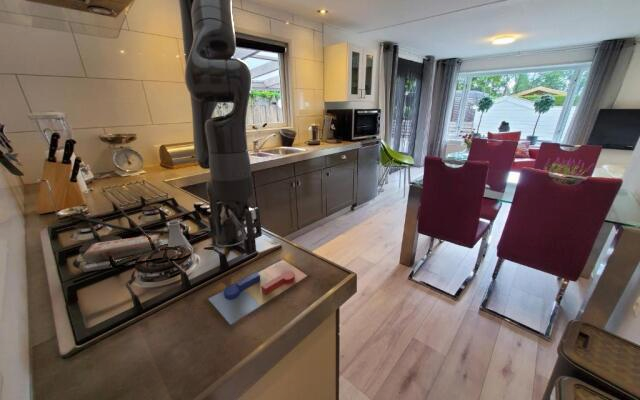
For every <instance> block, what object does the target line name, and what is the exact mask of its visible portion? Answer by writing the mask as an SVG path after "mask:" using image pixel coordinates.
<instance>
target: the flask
mask: <svg viewBox="0 0 640 400" xmlns="http://www.w3.org/2000/svg"><path fill="white" fill-rule="evenodd" d="M180 223H181V221H180V220H178V219H174V220H170V221H168V222H167V223H166V226H167V227H168V231H169V235H168V246H167V247H175V246H178V245H185V246H188V247H191V248H192V253H193V252H194V247H193V246H192V244H191V243H190V242H189V241H188V239H187V238H186V235H183V233H182V232H183V231H182V229H181V226H180Z"/></svg>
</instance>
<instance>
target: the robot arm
mask: <svg viewBox="0 0 640 400" xmlns="http://www.w3.org/2000/svg"><path fill="white" fill-rule="evenodd" d="M178 5H179V11H180V13H179V14H180V21H181V32H182V43H183V54H184V62H185V68H184V82H185V86H186V88H187V91H188V92H189V97H190V103H191V104H190V105H191V115H192V116H191V117H192V137H193V138H192V139H193V151H194V156H195V159H196V163H197V164H198V166H199V167H200V168H201V169H202V170H209V174H210V178H209V179H208V180H207V181H206V184H205V187H206V193H207V198H208V204H209V210H210V215H208V224H209V229H206V230H201V231H200V232H208V233H207V235H208V239H211V242H212V245H213V246H216V247H219V248H222V249H223V248H231V247H235V246H238V245H240V244H243V247H244V253H245V255H247V256H251V255H253V254H255V253H256V252H257V244H256V239H258V238H260V237H262V236H263V232H262V224H261V215H260V210H259V208H258V207H254V208H251V207H250V204H249V199H250V198H251V197H252V196H253V194H254V190H253V179H252V178H253V177H252V167H251V159H250V156H249V155H250V154H249V150H248V137H247V114H248V106H249V101H250V98H251V97H250V96H251V91H252V86H253V85H252V83H253V79H252V74H251V73H252V72H251V70H250V68H249V67H248V64H246V62H245V61H243V60H241V59H240V58H233V57H234V56H235V54H236V52H237V51H236V50H237V43H236V34H235V28H234V21H233V14H232V0H178ZM219 103H222V104H231V103H232V104H233V105H232V109H231V110H230V111H229V113H226V114H223V115H220V116H214V112H215V111H216V108H217V106H218V104H219ZM213 116H214V117H213ZM70 217H71V218H72V219H75V220H76V219H77V220H82V221H85V222H90V223H95V224H98V225H101V226H106V227H109V228H113V229H118V230H123V231H128V230H127V229H129V228H130V227H126V226H120V225H115V224H110V223H107V222H103V221H99V220H95V219H91V218H88V217H82V216H77V215H71V216H70ZM143 230H144V231H145V232H144V233H146V234H147V233H149V234H169V230H153V229H151V230H150V229H143ZM132 232H137V233H140V232H139V231H137V230H133V231H132ZM183 232H184V231H182V233H183ZM188 233H189V235H190V236H189V237H193V236H192V235H194V234H195V233H190V232H188Z"/></svg>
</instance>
